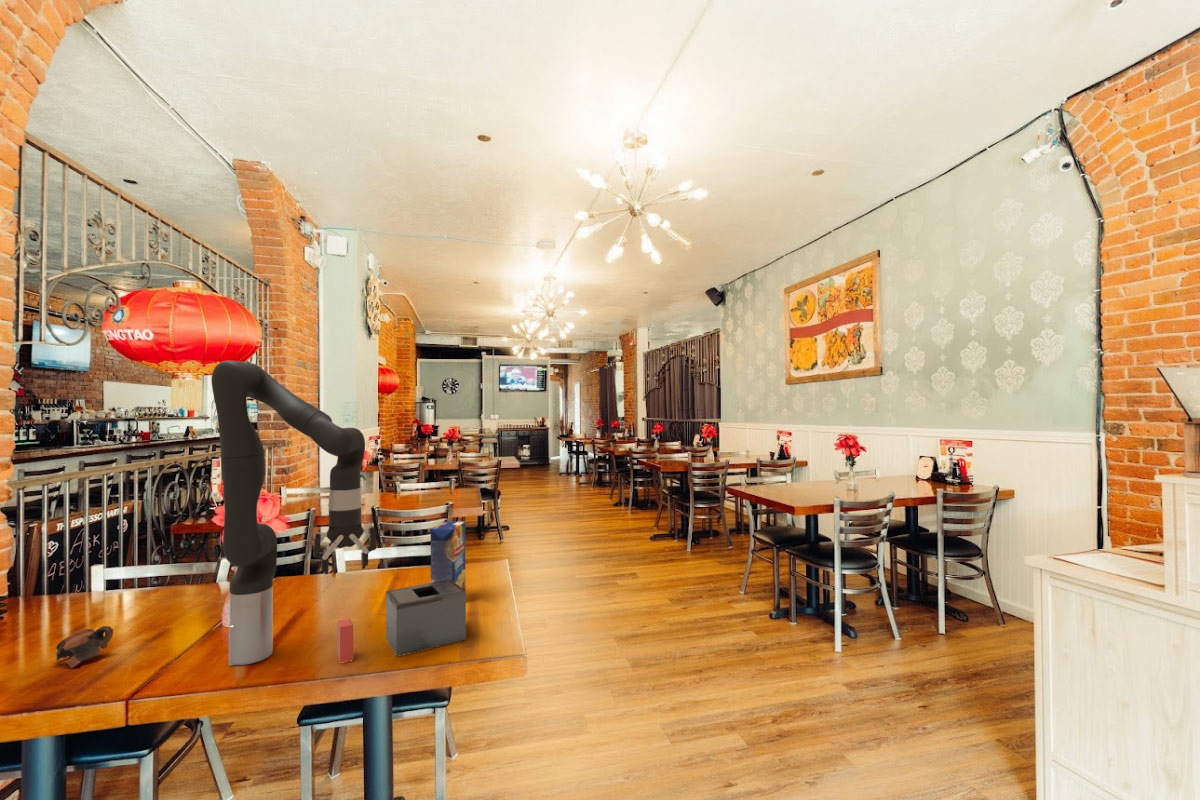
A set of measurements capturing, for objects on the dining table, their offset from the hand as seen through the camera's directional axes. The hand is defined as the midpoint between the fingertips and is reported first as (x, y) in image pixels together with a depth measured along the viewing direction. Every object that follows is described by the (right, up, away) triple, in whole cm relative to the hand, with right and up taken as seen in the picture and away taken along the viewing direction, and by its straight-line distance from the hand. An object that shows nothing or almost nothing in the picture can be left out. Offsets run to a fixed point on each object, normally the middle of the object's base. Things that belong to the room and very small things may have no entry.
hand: (345, 570), depth 135 cm
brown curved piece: (-62, -22, -1) cm, 66 cm away
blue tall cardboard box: (+14, -23, +43) cm, 51 cm away
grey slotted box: (+17, -22, +10) cm, 30 cm away
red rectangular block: (0, -22, 0) cm, 22 cm away
